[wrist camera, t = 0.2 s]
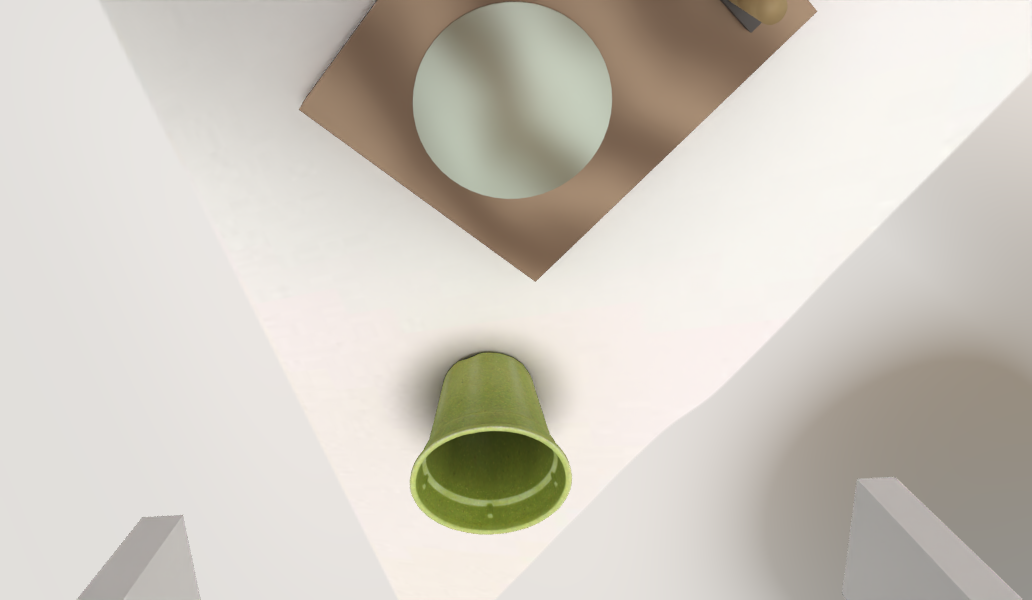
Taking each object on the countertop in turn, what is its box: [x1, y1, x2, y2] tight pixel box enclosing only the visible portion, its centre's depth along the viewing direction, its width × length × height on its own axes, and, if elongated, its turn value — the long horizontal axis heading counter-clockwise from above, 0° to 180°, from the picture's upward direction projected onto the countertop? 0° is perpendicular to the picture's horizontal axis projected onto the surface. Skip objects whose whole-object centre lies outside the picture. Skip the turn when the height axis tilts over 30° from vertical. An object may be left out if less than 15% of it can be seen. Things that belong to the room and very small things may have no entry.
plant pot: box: [410, 353, 572, 535], centre depth 44 cm, size 9×9×9 cm
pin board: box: [299, 0, 817, 282], centre depth 32 cm, size 20×16×6 cm
